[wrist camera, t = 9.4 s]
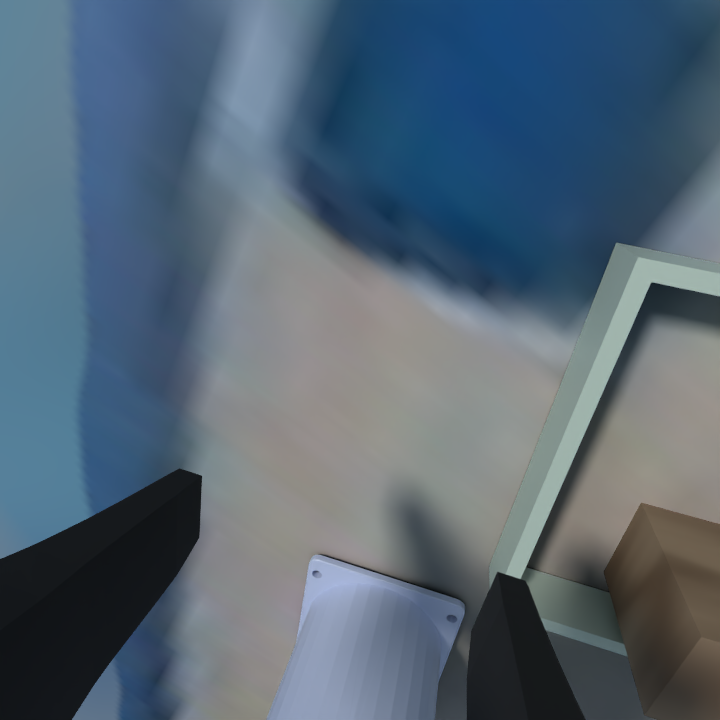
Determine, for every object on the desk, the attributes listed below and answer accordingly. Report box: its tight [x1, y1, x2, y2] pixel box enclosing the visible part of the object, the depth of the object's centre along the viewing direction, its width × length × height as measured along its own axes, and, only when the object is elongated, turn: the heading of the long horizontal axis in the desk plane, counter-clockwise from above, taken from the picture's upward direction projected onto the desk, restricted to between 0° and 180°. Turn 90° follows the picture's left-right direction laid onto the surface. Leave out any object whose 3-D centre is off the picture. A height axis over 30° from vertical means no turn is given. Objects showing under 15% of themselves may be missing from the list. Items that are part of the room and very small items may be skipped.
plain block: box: [604, 503, 720, 720], centre depth 17 cm, size 4×4×6 cm
